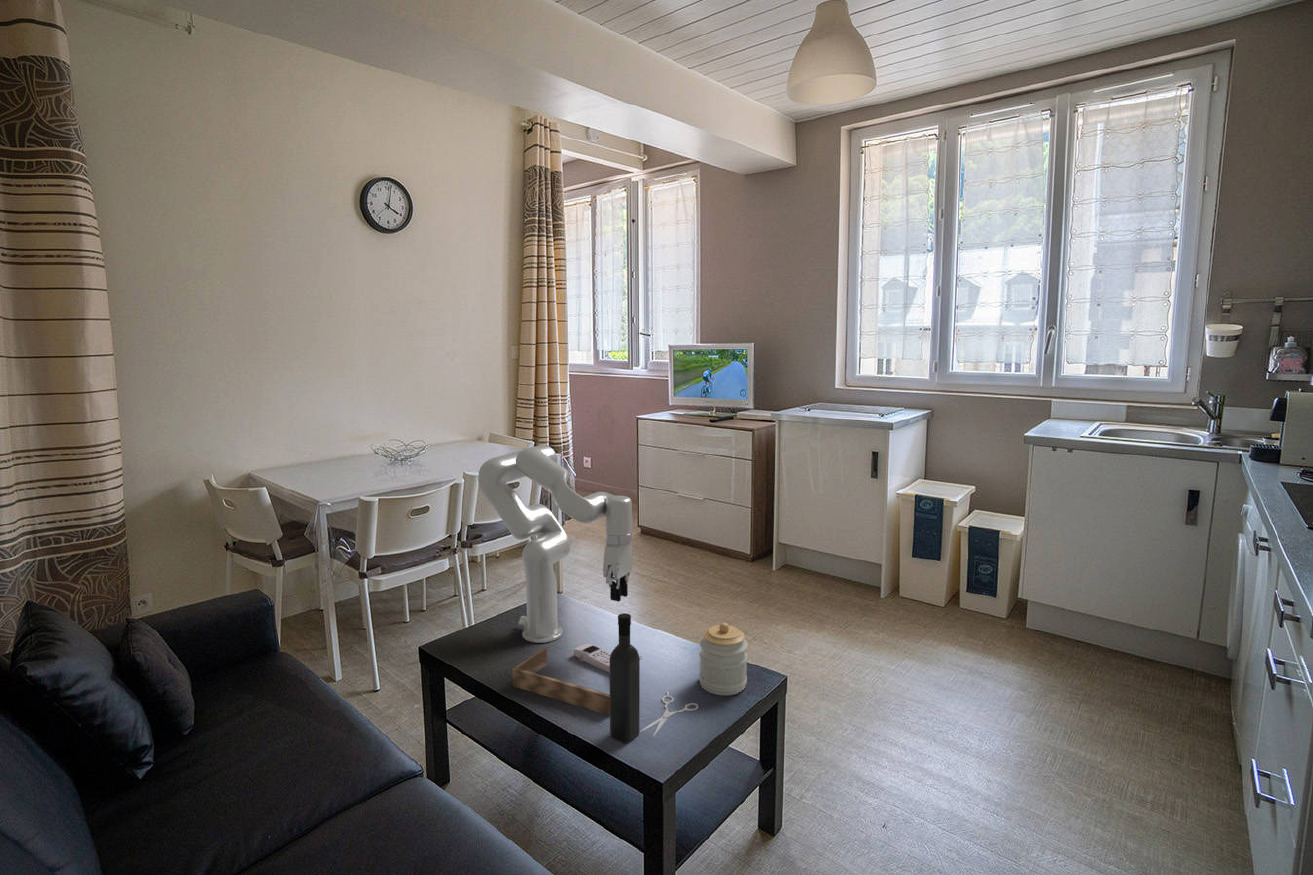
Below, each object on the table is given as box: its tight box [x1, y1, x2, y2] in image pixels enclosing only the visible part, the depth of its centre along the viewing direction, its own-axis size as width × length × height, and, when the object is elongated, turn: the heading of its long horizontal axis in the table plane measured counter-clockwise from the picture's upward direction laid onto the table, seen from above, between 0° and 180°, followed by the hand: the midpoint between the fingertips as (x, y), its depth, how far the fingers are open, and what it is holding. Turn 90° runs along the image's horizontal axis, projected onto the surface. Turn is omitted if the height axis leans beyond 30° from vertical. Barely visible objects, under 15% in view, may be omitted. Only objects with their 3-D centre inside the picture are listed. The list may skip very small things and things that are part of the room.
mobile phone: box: [573, 643, 643, 674], centre depth 194 cm, size 6×6×25 cm
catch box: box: [511, 647, 610, 716], centre depth 181 cm, size 31×14×5 cm, turn 63°
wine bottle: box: [609, 613, 641, 744], centre depth 158 cm, size 6×6×30 cm
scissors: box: [639, 691, 699, 738], centre depth 168 cm, size 11×1×20 cm
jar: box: [698, 622, 749, 696], centre depth 182 cm, size 13×13×18 cm
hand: (619, 597), depth 199 cm, fingers open, 3 cm apart
